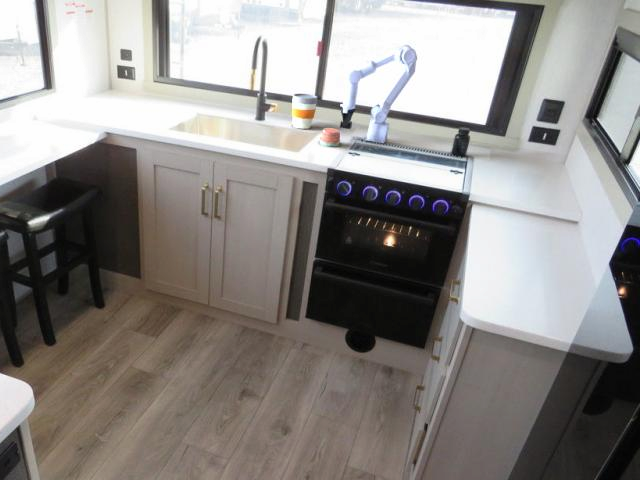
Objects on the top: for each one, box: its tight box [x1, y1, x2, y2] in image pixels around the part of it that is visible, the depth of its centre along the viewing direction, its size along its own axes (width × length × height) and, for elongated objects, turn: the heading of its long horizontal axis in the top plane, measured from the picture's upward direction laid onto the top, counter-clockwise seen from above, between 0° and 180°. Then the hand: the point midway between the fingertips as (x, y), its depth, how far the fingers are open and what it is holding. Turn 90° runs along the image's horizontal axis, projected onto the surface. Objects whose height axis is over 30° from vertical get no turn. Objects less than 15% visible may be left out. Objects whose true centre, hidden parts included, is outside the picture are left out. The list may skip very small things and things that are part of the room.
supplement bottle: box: [450, 127, 471, 157], centre depth 267 cm, size 7×7×12 cm
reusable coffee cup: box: [291, 93, 318, 130], centre depth 291 cm, size 12×13×15 cm
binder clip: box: [339, 119, 353, 130], centre depth 279 cm, size 5×3×3 cm, turn 68°
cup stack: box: [319, 127, 341, 148], centre depth 272 cm, size 9×9×6 cm
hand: (346, 124), depth 279 cm, fingers closed on binder clip, 3 cm apart
